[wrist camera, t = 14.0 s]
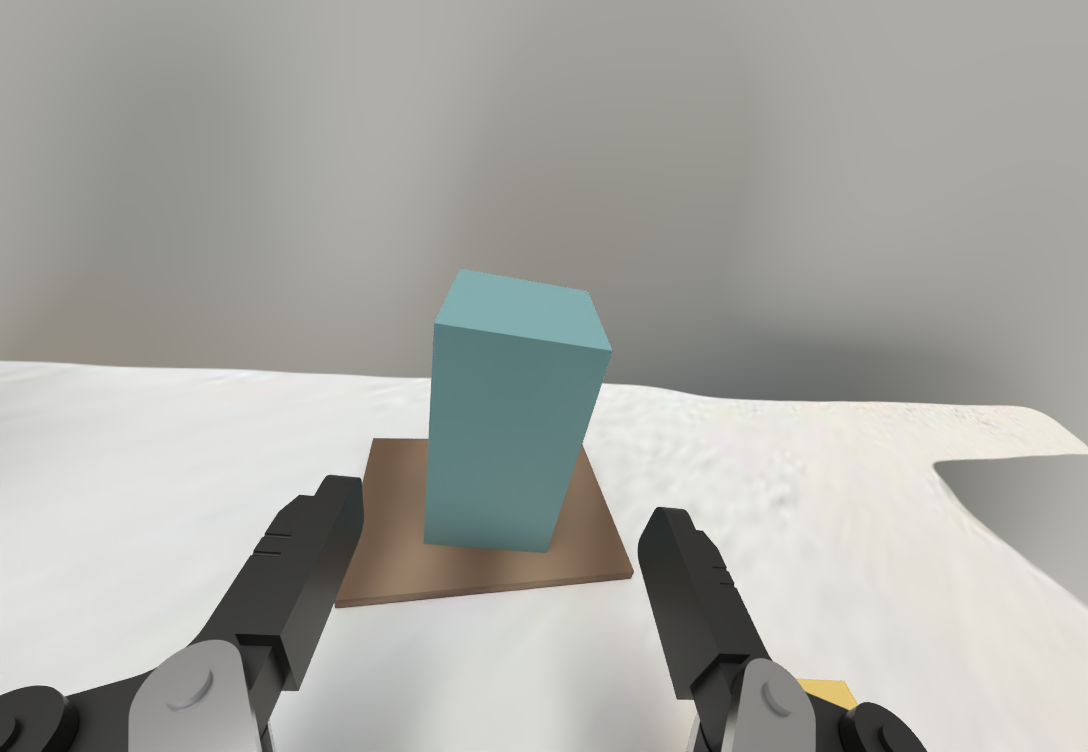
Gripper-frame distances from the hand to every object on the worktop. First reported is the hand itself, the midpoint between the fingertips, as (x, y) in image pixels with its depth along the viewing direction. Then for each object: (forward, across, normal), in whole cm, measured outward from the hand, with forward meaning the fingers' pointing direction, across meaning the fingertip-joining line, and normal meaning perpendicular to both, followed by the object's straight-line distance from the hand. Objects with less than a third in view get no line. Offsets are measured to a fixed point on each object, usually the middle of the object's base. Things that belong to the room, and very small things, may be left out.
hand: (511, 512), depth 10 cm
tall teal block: (+8, 0, +9) cm, 12 cm away
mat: (+8, 0, +10) cm, 13 cm away
